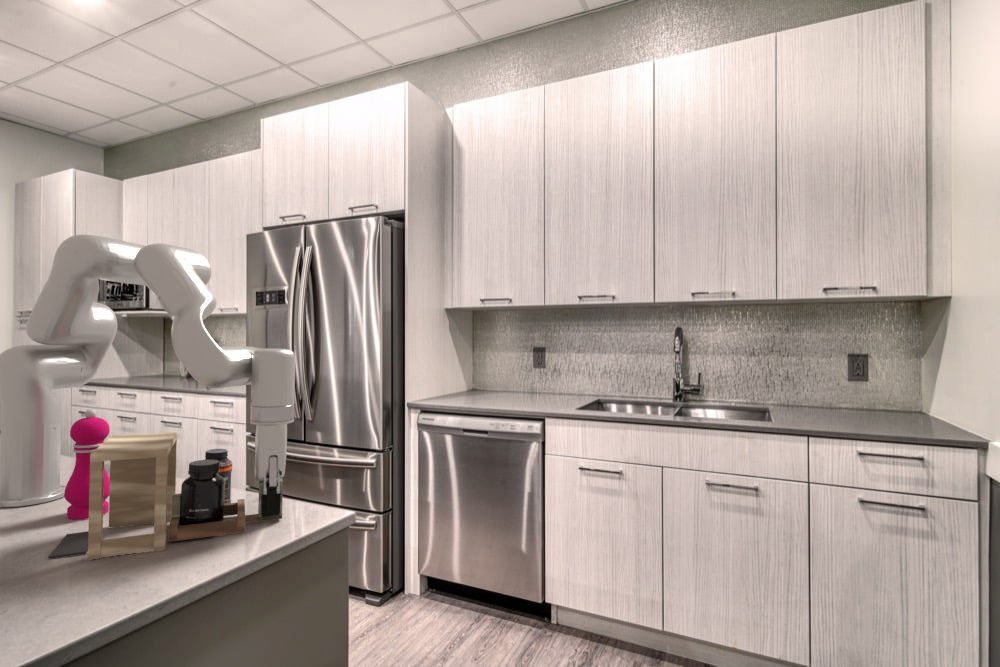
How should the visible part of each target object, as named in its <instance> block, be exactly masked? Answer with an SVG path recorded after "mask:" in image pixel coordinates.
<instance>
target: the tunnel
mask: <svg viewBox="0 0 1000 667" xmlns="http://www.w3.org/2000/svg"><path fill="white" fill-rule="evenodd" d="M104 441H105V442H104V443H103V444H102V445H101V446H99V447H98V448H97V449H96V450H95V451H93V452H92V453H91V454H90V489H89V519H88V529H87V530H88V531H87V532H88V551H87V561H93V559H96V560H100V559H102V558H101V557H106V558H109V557H108V556H114V557H117V556H116V555H121V556H126V555H125V554H129V555H133V554H132V553H136V554H143V552H144V553H150V551H151V552H154V553H155V552H161V551H162V552H163V551H165V550H166V548H167V524H168V522H169V523H170V521H171V518H172V497H173V494H177V462H178V460H177V459H178V458H177V457H178V456H177V455H178V432H177V431H175V432H155V433H140V434H139V433H138V434H137V433H136V434H117V435H112V436H110V437H109V438H108V439H105V440H104ZM107 461H108V462H110V463H109V477H110V495H109V496H108V497H109V499H108V500H109V501H108V502H109V511H108V528H109V527H116V528H121V527H120V526H125V527H131V526H130V525H134V526H140V525H141V524H142V525H149V524H148V523H151V524H154V530H153V532H154V533H148V534H138V535H137V534H136V535H132V536H123V537H114V538H112V537H111V538H107V539H106V538H105V539H104V538H103V537H104V536H103V533H104V532H103V531H104V528H103V526H104V515H103V495H104V467H105V462H107ZM142 525H141V526H142ZM141 552H142V553H141ZM99 558H100V559H99Z"/></svg>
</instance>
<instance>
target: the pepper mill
mask: <svg viewBox="0 0 1000 667" xmlns="http://www.w3.org/2000/svg"><path fill="white" fill-rule="evenodd" d="M84 416H85V417H84V418H80V419H78V420H76V421H75V422H73V424H72V425H71V428H70V431H69V435H70V436H69V437H70V438H71V439H72V441H73V442H74V444H73V445H72V447H73V450H72V452H73V453H75V464H74V468H73V471H72V472H71V476H70V477H69V479H68V481H67V482H66V485H65V486H66V488H65V493H64V497H63V498H64V499H65V501H66V502H68V504H70V505H69V506H68V507H67V508H66V510H67V511H66V517H67V519H68V520H73V519H81V520H89V519H88V518H89V489H90V454H91V453H92V452H93V451H95V450H96V449H97V448H98V447H99V446H101V445H102V444H103V443H104V442H105V441H106V439H107V438H108V436H109V435H110V433H111V432H110V429H111V428H110V425H109V422H108V421H107V420H105V419H104V418H101V417H98V416H97V411H96V410H95V409H93V408H89V409H87V410H86V411H85V412H84ZM109 495H110V474H108V472H107V469H106V466H104V495H103V514H104V515H106V514H107V513H109V501H108V500H107V499H108V497H109ZM105 513H106V514H105Z"/></svg>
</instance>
